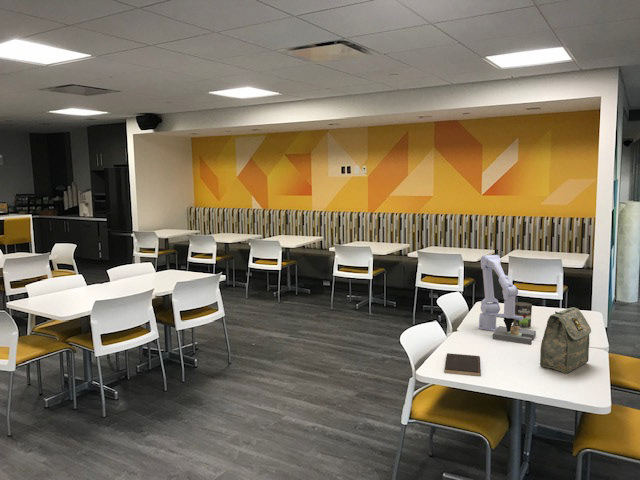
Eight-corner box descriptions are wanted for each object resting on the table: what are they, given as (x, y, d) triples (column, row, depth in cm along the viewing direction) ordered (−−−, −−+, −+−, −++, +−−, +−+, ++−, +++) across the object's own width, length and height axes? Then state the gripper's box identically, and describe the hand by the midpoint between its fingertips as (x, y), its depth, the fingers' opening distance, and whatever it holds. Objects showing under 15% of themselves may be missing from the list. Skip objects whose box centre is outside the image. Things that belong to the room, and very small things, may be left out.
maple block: (510, 334, 292) (510, 327, 292) (511, 332, 295) (512, 325, 295) (518, 335, 290) (518, 328, 290) (519, 333, 293) (519, 326, 293)
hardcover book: (444, 373, 243) (444, 368, 243) (446, 357, 265) (446, 353, 265) (480, 377, 239) (480, 372, 238) (479, 360, 261) (480, 356, 260)
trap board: (492, 339, 293) (492, 333, 293) (499, 330, 309) (499, 325, 308) (530, 344, 283) (530, 339, 283) (535, 335, 299) (535, 330, 298)
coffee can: (532, 329, 312) (533, 306, 310) (514, 328, 313) (515, 305, 312) (528, 324, 322) (529, 302, 320) (511, 324, 323) (512, 301, 322)
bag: (571, 375, 239) (574, 316, 236) (537, 366, 251) (539, 310, 248) (591, 364, 254) (595, 308, 251) (558, 355, 266) (561, 302, 263)
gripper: (494, 307, 293) (493, 331, 295) (522, 310, 286) (520, 335, 287) (497, 304, 299) (496, 328, 301) (524, 308, 292) (523, 331, 293)
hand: (508, 331), depth 294 cm, fingers closed
